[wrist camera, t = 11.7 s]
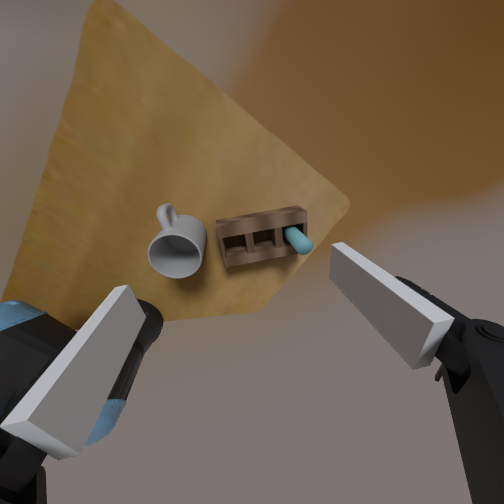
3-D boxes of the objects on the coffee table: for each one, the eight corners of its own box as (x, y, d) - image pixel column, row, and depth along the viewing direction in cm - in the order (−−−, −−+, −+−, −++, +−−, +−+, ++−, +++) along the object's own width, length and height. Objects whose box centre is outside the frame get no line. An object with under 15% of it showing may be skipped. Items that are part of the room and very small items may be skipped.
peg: (279, 234, 43) (296, 255, 33) (279, 221, 41) (296, 240, 32) (291, 232, 43) (312, 253, 33) (291, 220, 42) (313, 238, 32)
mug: (212, 245, 42) (209, 271, 32) (175, 255, 41) (161, 285, 32) (192, 192, 36) (181, 204, 26) (149, 203, 36) (123, 219, 26)
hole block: (225, 256, 43) (225, 267, 39) (216, 220, 39) (215, 228, 35) (298, 242, 45) (307, 251, 40) (297, 205, 40) (307, 211, 36)
